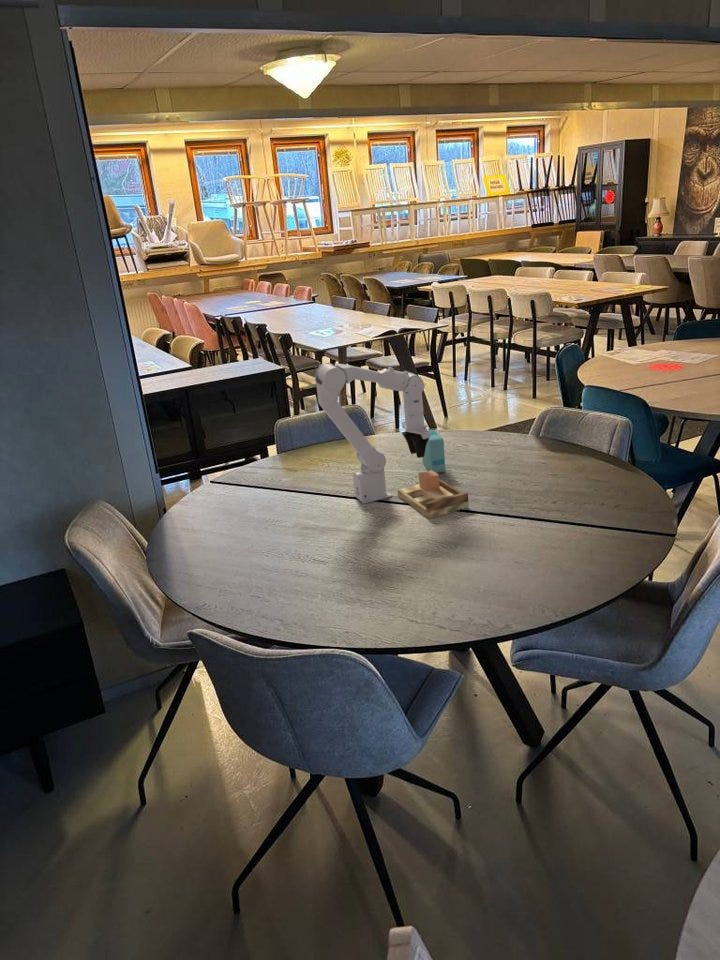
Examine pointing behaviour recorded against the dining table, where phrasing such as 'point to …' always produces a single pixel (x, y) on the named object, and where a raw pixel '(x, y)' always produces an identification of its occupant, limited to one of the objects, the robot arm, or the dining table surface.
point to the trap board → (435, 499)
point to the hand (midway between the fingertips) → (417, 455)
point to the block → (429, 481)
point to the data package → (434, 453)
